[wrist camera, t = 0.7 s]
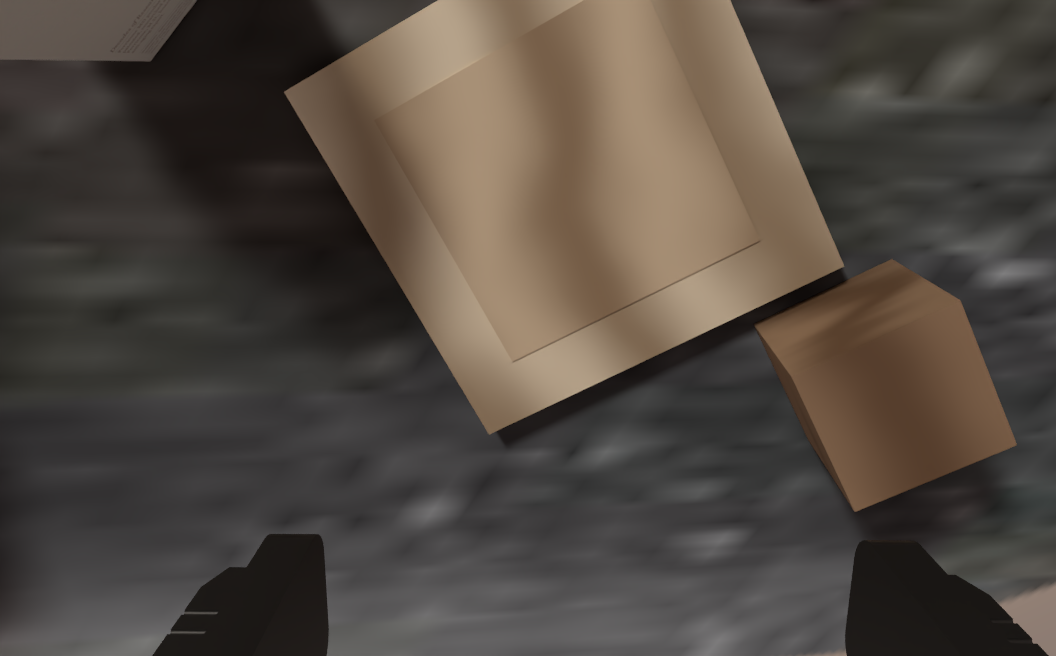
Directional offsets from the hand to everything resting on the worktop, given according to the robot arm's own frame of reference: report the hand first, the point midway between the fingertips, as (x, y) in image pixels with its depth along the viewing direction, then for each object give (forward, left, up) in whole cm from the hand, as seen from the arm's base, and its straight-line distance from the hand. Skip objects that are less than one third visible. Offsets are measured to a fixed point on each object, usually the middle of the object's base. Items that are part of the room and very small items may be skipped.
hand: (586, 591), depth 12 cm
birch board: (-1, -3, -22) cm, 22 cm away
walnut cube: (-8, +9, -22) cm, 25 cm away
